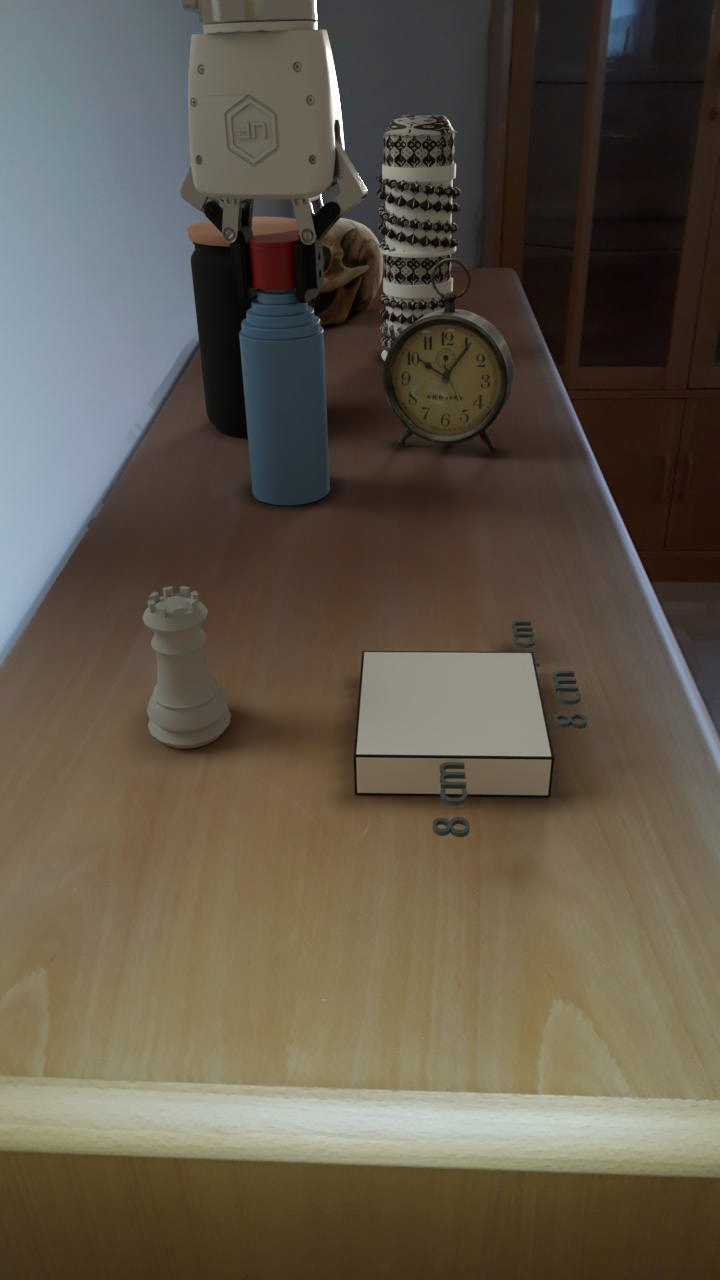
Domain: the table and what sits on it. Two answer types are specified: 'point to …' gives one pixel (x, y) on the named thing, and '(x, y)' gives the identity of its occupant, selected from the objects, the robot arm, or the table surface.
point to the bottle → (285, 399)
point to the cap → (273, 261)
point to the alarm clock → (448, 373)
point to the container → (456, 725)
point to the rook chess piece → (183, 673)
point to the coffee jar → (223, 320)
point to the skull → (348, 271)
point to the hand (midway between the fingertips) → (279, 295)
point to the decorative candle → (416, 219)
